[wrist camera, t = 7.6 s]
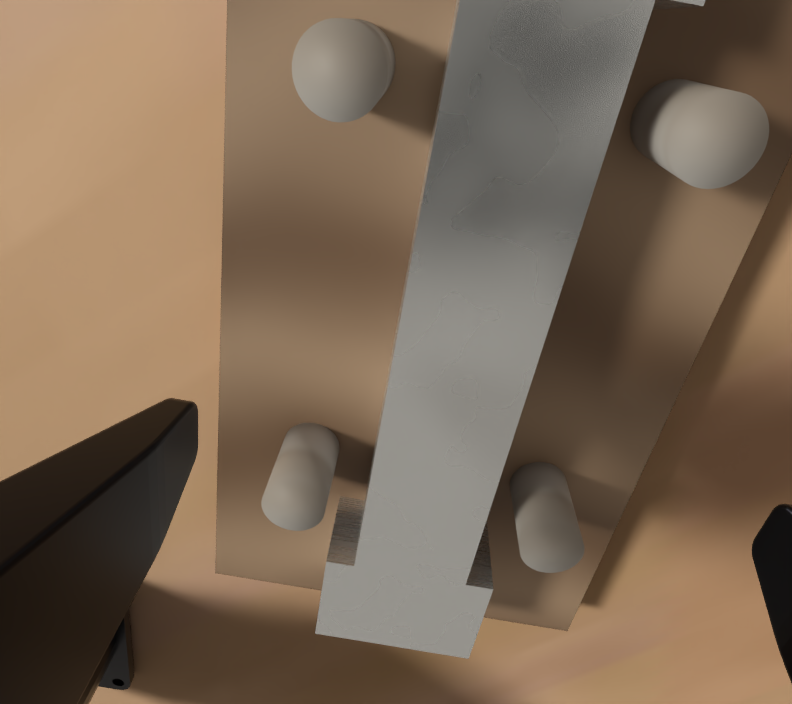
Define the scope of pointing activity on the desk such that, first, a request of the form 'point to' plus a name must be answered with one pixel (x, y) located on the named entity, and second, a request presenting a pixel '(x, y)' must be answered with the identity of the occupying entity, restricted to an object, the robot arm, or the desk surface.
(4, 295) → the desk surface
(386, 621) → the grey i-beam piece
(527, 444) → the peg board
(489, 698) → the desk surface
